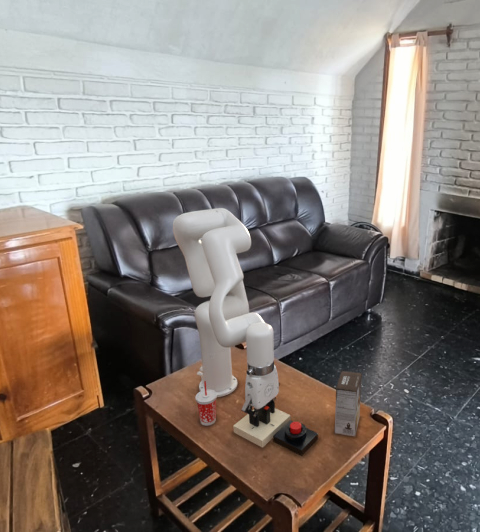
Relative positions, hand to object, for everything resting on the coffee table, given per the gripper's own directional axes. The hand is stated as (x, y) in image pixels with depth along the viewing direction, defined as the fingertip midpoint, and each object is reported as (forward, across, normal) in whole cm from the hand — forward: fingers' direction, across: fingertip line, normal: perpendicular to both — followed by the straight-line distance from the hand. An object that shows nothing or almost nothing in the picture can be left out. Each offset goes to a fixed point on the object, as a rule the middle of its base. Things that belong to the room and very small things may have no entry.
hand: (262, 417), depth 130 cm
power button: (0, +1, -11) cm, 12 cm away
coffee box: (+4, +15, -20) cm, 26 cm away
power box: (+4, +1, -12) cm, 12 cm away
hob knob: (+1, 0, 0) cm, 1 cm away
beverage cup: (+4, -7, +16) cm, 17 cm away
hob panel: (+4, 0, 0) cm, 4 cm away
